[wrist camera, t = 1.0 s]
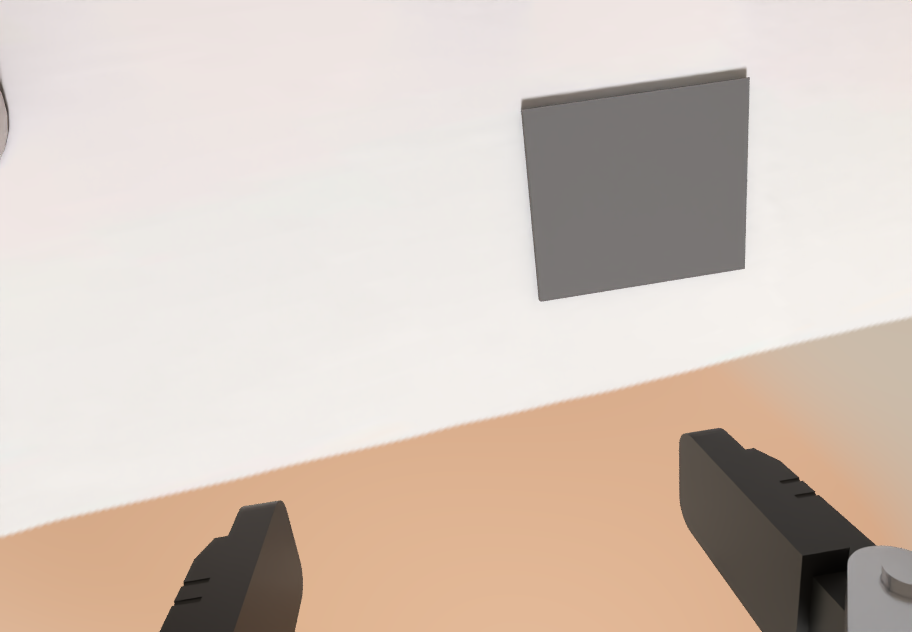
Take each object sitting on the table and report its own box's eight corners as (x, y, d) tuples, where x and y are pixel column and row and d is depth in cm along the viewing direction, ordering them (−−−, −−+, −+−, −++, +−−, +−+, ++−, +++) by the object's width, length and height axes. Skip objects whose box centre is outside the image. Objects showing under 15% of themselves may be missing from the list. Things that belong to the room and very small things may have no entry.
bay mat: (538, 299, 38) (540, 301, 38) (521, 109, 35) (522, 109, 34) (740, 267, 39) (744, 268, 39) (744, 77, 35) (749, 77, 35)
